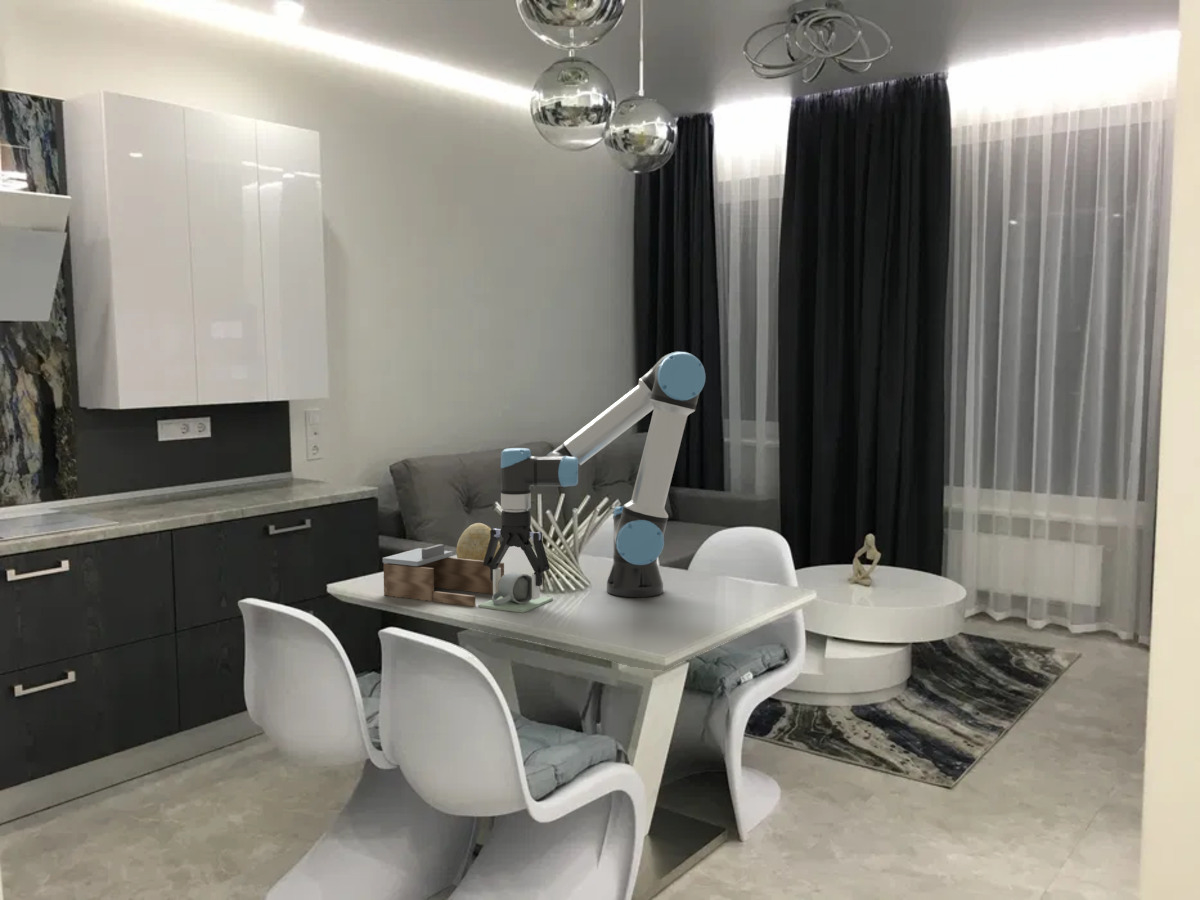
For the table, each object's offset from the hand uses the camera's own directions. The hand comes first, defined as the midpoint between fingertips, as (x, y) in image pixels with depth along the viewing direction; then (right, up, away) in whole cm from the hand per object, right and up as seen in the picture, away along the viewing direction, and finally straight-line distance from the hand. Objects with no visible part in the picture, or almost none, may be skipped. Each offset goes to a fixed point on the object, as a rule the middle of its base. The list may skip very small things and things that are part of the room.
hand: (516, 596), depth 253 cm
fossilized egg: (-14, +1, +35) cm, 38 cm away
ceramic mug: (-1, -2, -1) cm, 2 cm away
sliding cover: (-27, +8, +12) cm, 31 cm away
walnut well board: (-20, -1, +9) cm, 22 cm away
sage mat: (0, -2, 0) cm, 2 cm away
